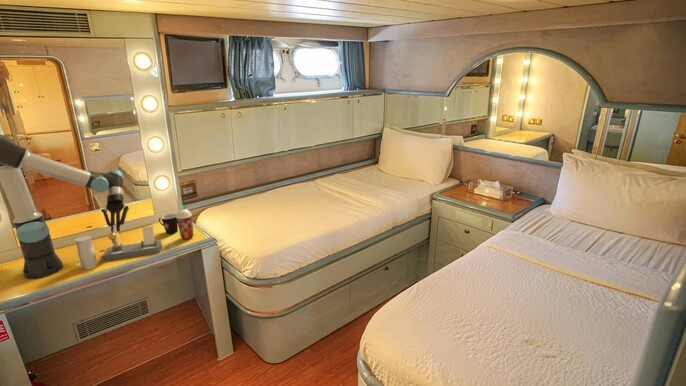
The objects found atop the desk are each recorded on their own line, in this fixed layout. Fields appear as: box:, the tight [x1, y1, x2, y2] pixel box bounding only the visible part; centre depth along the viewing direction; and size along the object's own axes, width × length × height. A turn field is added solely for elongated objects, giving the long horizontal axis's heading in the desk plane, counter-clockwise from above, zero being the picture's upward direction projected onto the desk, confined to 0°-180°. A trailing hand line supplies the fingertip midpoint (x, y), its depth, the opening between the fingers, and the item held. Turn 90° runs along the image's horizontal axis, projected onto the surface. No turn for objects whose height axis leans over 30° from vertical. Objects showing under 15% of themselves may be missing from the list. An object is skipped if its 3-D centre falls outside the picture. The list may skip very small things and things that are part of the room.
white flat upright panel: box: [141, 226, 156, 245], centre depth 201 cm, size 5×1×9 cm, turn 109°
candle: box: [74, 235, 98, 270], centre depth 183 cm, size 7×7×15 cm
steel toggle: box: [107, 232, 120, 250], centre depth 192 cm, size 4×4×11 cm
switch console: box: [102, 238, 163, 262], centre depth 198 cm, size 26×10×5 cm, turn 109°
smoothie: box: [176, 204, 194, 241], centre depth 213 cm, size 8×8×20 cm
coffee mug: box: [158, 213, 179, 235], centre depth 224 cm, size 12×9×10 cm
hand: (115, 237), depth 193 cm, fingers closed
